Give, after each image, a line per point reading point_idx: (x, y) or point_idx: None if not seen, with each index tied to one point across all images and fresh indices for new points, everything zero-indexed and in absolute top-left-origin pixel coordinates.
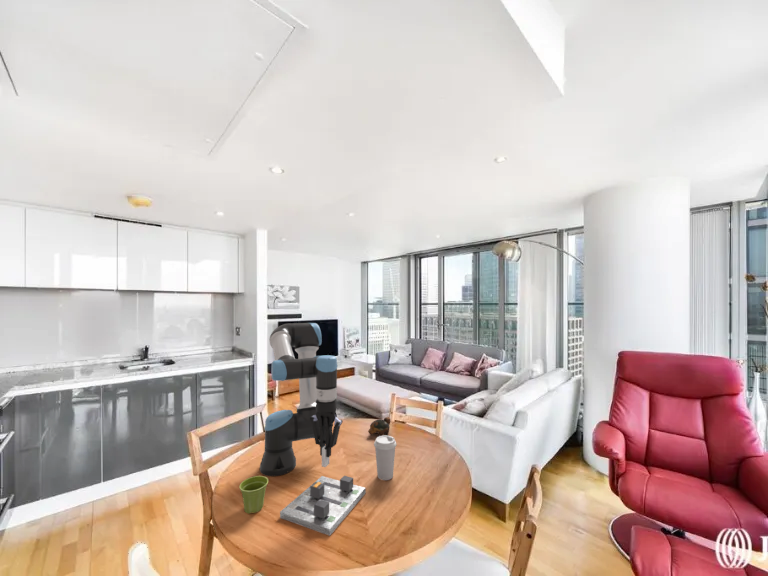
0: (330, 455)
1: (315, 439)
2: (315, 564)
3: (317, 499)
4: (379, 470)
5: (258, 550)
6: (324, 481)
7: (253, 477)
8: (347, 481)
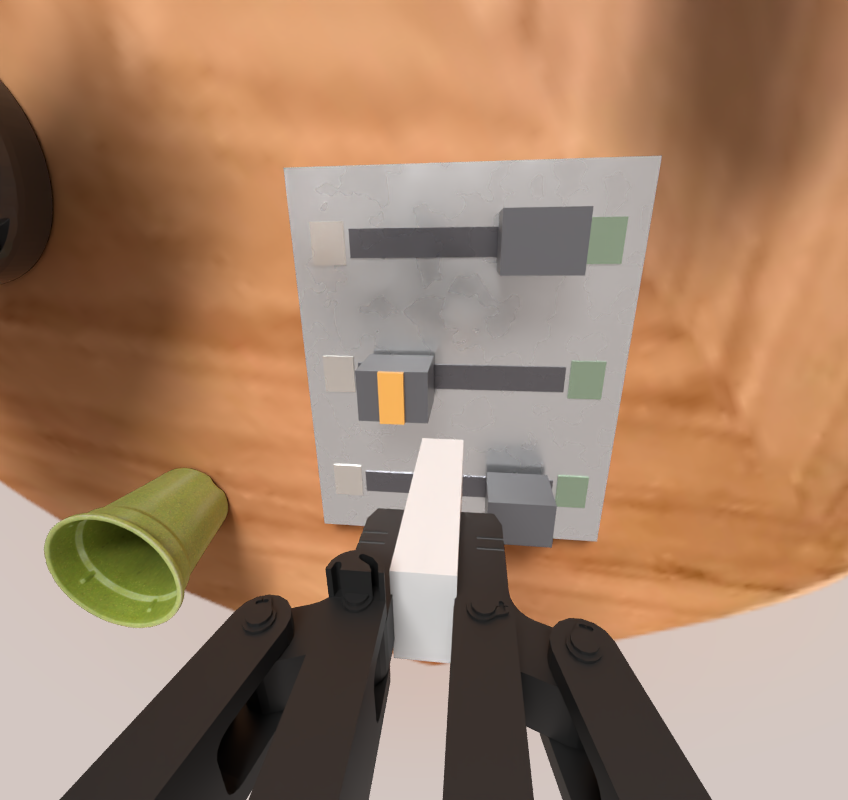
0: (496, 525)
1: (225, 756)
2: (602, 628)
3: None
4: None
5: None
6: (343, 222)
7: (54, 535)
8: (567, 273)
